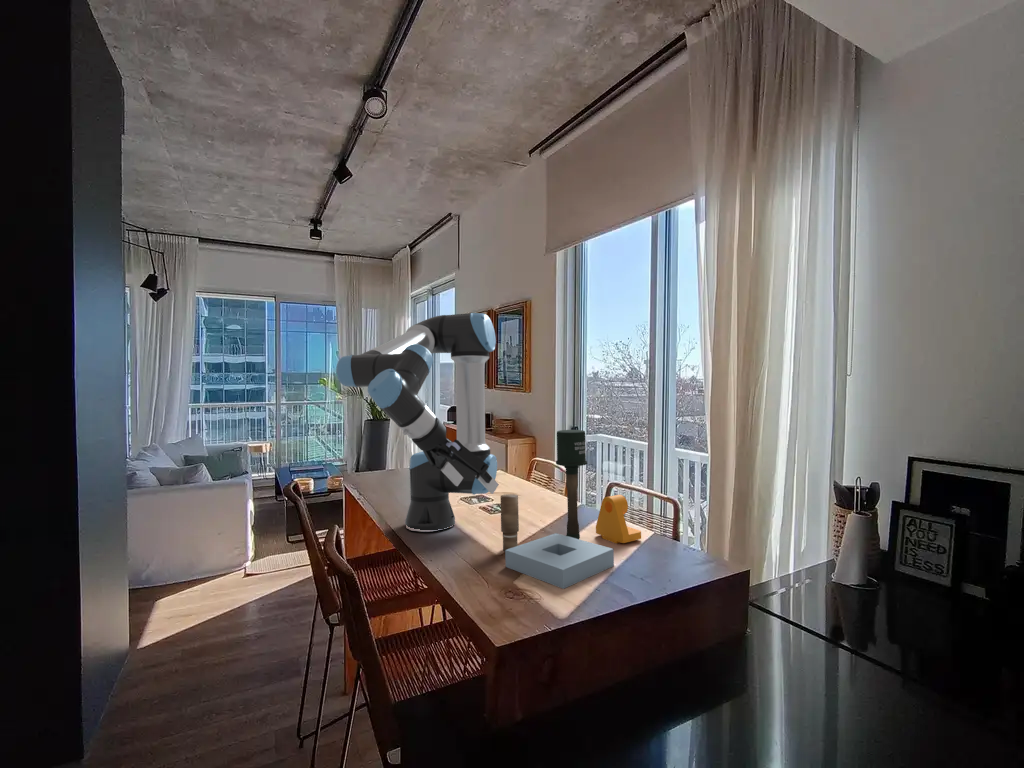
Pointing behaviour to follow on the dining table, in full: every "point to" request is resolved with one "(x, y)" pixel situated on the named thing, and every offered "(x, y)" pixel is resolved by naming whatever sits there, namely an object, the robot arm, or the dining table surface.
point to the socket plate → (559, 559)
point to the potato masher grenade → (571, 471)
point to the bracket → (615, 521)
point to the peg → (509, 520)
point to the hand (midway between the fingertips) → (476, 485)
